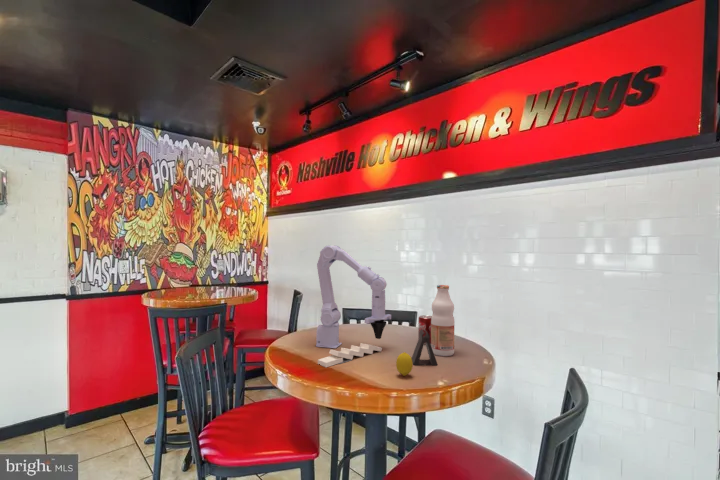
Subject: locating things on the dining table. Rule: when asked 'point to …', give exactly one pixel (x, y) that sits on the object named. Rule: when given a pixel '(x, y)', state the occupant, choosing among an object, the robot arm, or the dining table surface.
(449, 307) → the fruit juice
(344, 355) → the tile
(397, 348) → the dining table surface
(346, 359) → the end marker
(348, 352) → the tile
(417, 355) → the phone stand
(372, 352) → the tile
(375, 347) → the head tile
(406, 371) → the lemon
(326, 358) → the tile
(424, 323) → the soda can
